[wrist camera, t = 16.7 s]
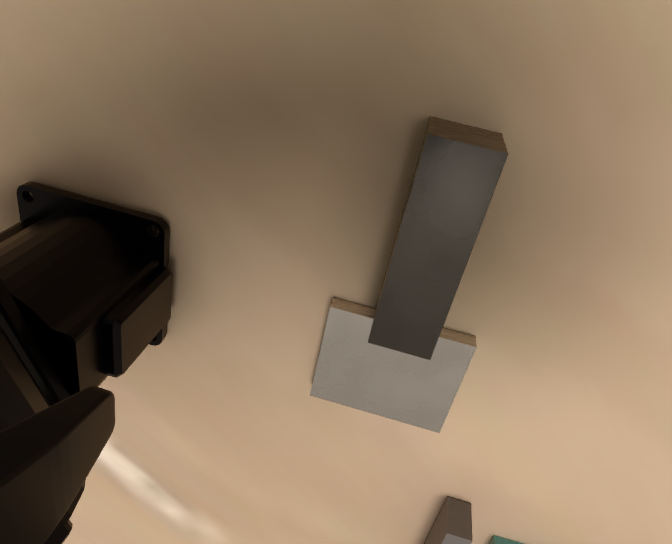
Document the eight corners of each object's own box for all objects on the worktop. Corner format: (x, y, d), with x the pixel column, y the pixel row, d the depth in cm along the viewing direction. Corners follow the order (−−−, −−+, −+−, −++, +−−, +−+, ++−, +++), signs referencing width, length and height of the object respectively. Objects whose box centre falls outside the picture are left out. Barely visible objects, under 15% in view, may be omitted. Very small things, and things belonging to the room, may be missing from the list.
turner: (378, 102, 17) (368, 118, 15) (555, 146, 17) (569, 168, 15) (314, 383, 24) (301, 420, 22) (439, 419, 23) (438, 461, 21)
